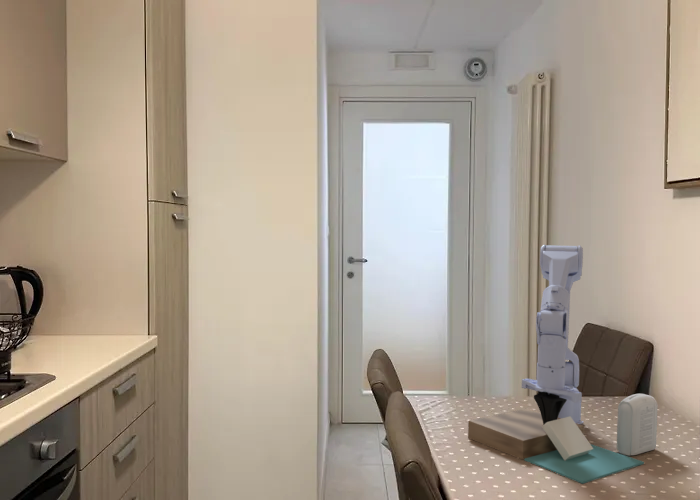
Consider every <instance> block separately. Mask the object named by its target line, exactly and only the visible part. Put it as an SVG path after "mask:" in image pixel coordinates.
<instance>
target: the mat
mask: <svg viewBox="0 0 700 500" xmlns="http://www.w3.org/2000/svg"><path fill="white" fill-rule="evenodd" d="M590 445H591V446H592V447H593V450H592V451H590V452H589V453H587V454H584V455H581V456H578V457H575V458H571V459H568V460H564V459H563V457H562V456H561V454H560V453H559V451H558V450H555V451H551V452H547V453H544V454H540V455H536V456H532V457H529V458H525V459H524V461H525V462H528V463H529V462H530V463H529V464H533V465H534V464H535V465H534V466H538V467H539V466H540V468H542V469H544V468H545V470H547V469H548V470H547V471H549V470H551V471H550V472H552V471H553V472H552V473H554V472H556V473H555V474H557V473H558V474H557V475H559V474H560V475H559V476H562V477H564V476H565V477H564V478H567V479H570V480H572V481H575V482H577V483H579V484H586V483H588V482H592V481H596V480H598V479H602V478H604V477H608V476H611V475H613V474H614V475H615V474H617V473H620V472H623V471H626V470H630V469H632V468H636V467H640V466H641V465H644V464H645V461H644V460H640V459H636V458H633V457H631V456H628V455H624V454H621V453H619V452H617V451H613V450H609V449H607V448H604V447H601V446H597V445H596V444H592V443H590Z"/></svg>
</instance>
